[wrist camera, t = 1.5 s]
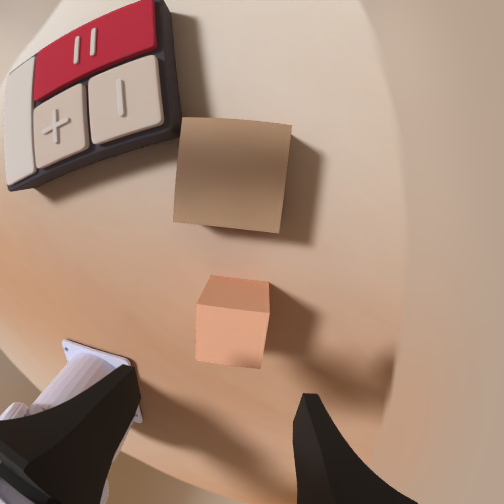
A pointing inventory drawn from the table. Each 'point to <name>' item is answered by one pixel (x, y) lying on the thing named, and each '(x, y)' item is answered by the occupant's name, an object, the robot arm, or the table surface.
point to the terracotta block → (232, 321)
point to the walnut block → (231, 173)
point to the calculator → (92, 95)
